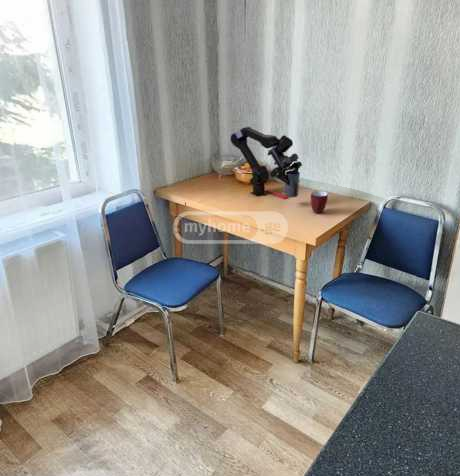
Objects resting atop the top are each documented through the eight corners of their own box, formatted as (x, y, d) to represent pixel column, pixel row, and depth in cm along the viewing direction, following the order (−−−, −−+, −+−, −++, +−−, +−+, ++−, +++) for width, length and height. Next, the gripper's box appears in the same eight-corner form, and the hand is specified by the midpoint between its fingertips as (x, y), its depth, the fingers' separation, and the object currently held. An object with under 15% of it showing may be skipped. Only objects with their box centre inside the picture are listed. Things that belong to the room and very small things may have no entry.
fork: (264, 191, 227) (264, 190, 227) (268, 190, 229) (268, 188, 228) (283, 198, 215) (284, 197, 215) (287, 197, 217) (288, 196, 217)
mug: (326, 217, 191) (328, 198, 187) (309, 216, 193) (311, 197, 188) (325, 209, 201) (327, 191, 197) (309, 208, 202) (310, 190, 198)
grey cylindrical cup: (282, 195, 204) (283, 172, 199) (289, 191, 209) (291, 169, 203) (293, 198, 200) (294, 175, 195) (300, 194, 204) (302, 172, 199)
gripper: (275, 151, 192) (290, 179, 189) (300, 145, 202) (315, 171, 200) (263, 164, 200) (278, 190, 198) (288, 157, 211) (302, 182, 208)
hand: (294, 183), depth 200 cm, fingers closed on grey cylindrical cup, 7 cm apart
